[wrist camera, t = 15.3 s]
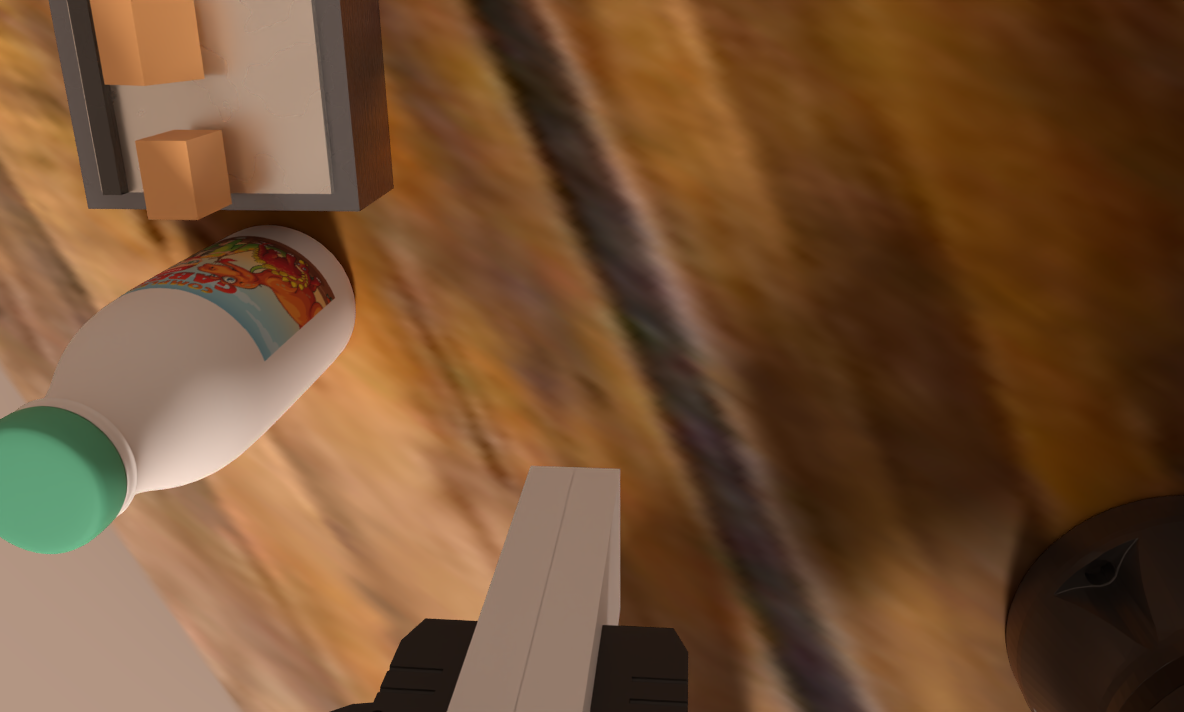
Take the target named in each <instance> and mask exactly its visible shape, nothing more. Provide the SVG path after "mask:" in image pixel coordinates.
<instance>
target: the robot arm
mask: <svg viewBox="0 0 1184 712" xmlns="http://www.w3.org/2000/svg"><path fill="white" fill-rule="evenodd" d="M619 615H620V469H607V468H578V467H549V466H531V467H530V470H529V473H528V476H527V479H526V481H525V484H524V487H523V490H522V493H521V496H520V499H519V502H518V505H517V508H516V511H515V514H514V517H513V520H512V522H511V525H510V528H509V531H508V534H507V537H506V540H505V543H504V546H503V549H502V552H501V555H500V558H499V561H498V564H497V566H496V569H495V572H494V575H493V578H492V581H491V584H490V587H489V590H488V593H487V596H486V599H485V602H484V605H483V607H482V610H481V613H480V616H479V619H478V621H465V620H445V619H424V620H423V621H422V622H421V623H420V624H419V625H418V626H417V627H416V628H414V629H413V630H412V631H411V632H410V633H409V634H408V635H407V636H405V637H404V638H403V639H402V640H401V642H400V644H399V646H398V649H397V651H396V653H395V655H394V658H393V660H392V662H391V664H390V670H389V671H387V673H386V675H385V678H384V680H383V682H382V684H381V687H380V692H378V693H377V696H376V698H375V700H374V702H373V703H361V704H352V705H349V706H346V707H343V708H340V709H337V710H334V711H331V712H688V651H687V650H686V648H685V646H684V645H683V643H682V641H681V640H680V638H679V636H678V635H677V633H676V632H675V630H674V628H656V627H636V626H618V623H619ZM1006 645H1007V653H1008V658H1009V662H1010V666H1011V669H1012V671H1013V674H1014V676H1015V678H1016V680H1017V683H1018V685H1019V687H1020V689H1021V691H1022V693H1023V696H1024V698H1025V700H1026V702H1027V704H1028V706H1029V708H1030V709H1031V711H1032V712H1184V496H1165V497H1157V498H1151V499H1145V500H1140V501H1136V502H1132V503H1128V504H1125V505H1122V506H1119V507H1116V508H1113V509H1111V510H1108V511H1105V512H1103V513H1101V514H1099V515H1096V516H1094V517H1092V518H1090V519H1089V520H1087V521H1085V522H1083V523H1081V524H1080V525H1078V526H1076V527H1075V528H1073V529H1072V530H1070V531H1069V532H1067V533H1066V534H1065V535H1063V536H1062V537H1061V538H1059V539H1058V540H1057V541H1056V542H1054V543H1053V544H1052V545H1051V546H1050V547H1049V548H1048V549H1047V550H1046V551H1045V552H1044V553H1043V554H1042V555H1041V556H1040V557H1039V558H1038V559H1037V561H1036V562H1035V563H1034V564H1033V565H1032V567H1031V568H1030V569H1029V571H1028V572H1027V574H1026V575H1025V577H1024V578H1023V580H1022V582H1021V584H1020V585H1019V587H1018V589H1017V591H1016V594H1015V596H1014V599H1013V601H1012V604H1011V607H1010V611H1009V615H1008V620H1007V628H1006Z"/></svg>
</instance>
